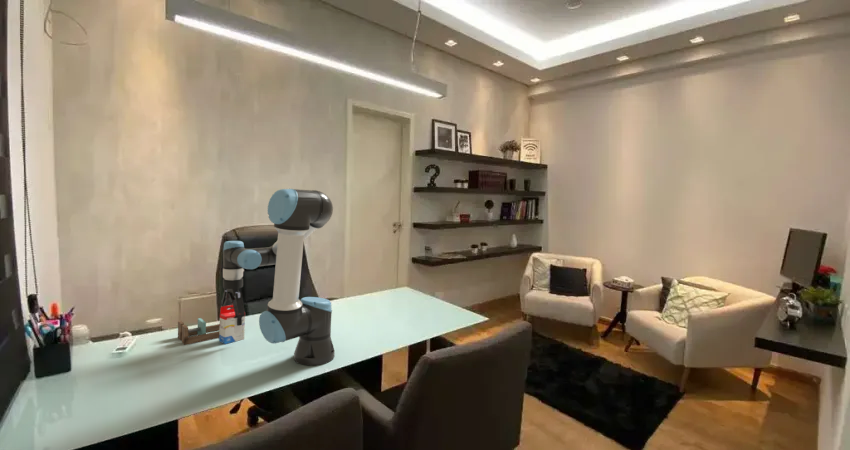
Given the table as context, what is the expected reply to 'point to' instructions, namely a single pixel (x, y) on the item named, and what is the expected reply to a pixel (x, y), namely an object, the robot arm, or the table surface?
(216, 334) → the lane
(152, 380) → the table surface
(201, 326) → the pusher
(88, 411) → the table surface
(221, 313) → the ink box
